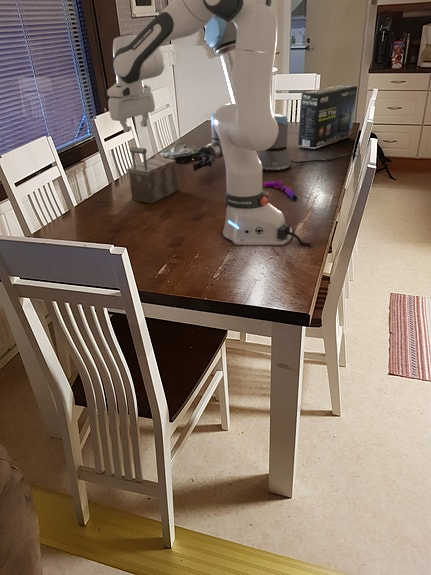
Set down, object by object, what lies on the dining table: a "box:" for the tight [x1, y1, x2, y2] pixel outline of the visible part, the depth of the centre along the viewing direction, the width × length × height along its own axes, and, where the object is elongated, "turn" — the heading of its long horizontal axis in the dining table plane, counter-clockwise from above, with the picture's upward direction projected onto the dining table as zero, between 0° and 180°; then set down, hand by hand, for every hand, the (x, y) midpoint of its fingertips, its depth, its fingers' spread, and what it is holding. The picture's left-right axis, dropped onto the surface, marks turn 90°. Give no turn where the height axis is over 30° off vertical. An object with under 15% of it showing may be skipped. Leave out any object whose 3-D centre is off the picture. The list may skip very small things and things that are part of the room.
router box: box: [297, 84, 358, 151], centre depth 238 cm, size 36×11×27 cm, turn 134°
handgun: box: [262, 180, 298, 201], centre depth 180 cm, size 21×8×2 cm, turn 11°
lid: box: [126, 146, 176, 175], centre depth 176 cm, size 18×10×9 cm, turn 147°
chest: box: [128, 163, 179, 204], centre depth 182 cm, size 17×10×11 cm, turn 147°
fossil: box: [160, 142, 199, 163], centre depth 229 cm, size 18×11×15 cm
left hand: (135, 129), depth 166 cm, fingers open, 8 cm apart
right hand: (180, 165), depth 194 cm, fingers open, 13 cm apart
